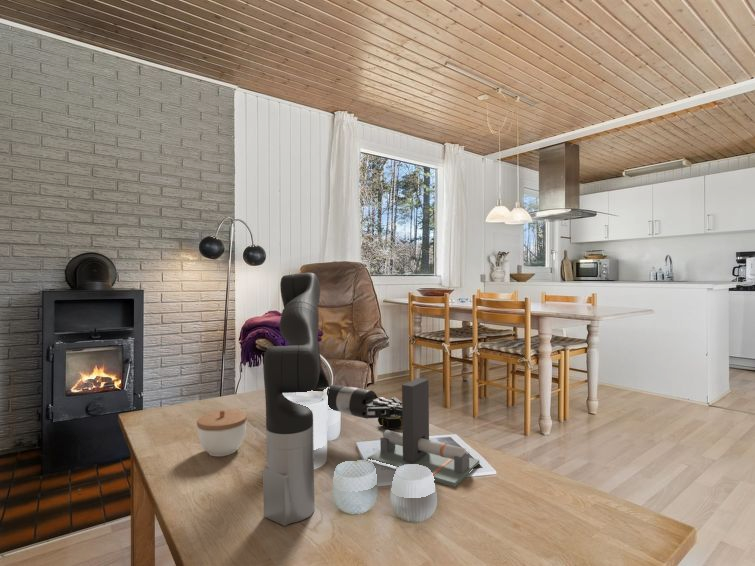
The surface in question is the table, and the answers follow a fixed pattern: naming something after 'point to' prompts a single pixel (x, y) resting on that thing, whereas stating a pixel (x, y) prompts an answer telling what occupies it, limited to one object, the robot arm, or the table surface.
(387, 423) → the tape measure
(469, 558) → the table surface
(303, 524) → the table surface
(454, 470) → the pipe stand
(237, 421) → the lidded bowl
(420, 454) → the dark grey upright pillar
